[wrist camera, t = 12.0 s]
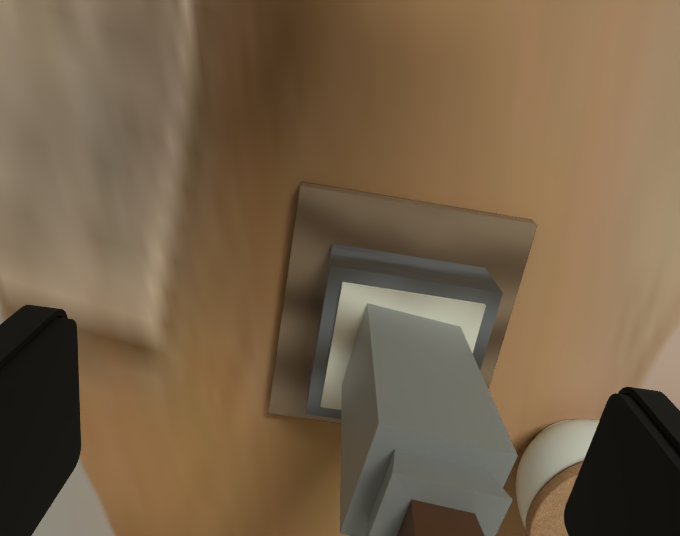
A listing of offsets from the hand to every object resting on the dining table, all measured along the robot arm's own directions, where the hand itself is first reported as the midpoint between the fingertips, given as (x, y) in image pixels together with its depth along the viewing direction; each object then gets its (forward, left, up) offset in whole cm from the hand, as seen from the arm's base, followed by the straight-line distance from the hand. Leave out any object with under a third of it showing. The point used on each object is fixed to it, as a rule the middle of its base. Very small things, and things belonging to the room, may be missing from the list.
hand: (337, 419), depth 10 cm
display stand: (+13, +6, -33) cm, 36 cm away
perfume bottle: (+13, +6, -27) cm, 30 cm away
